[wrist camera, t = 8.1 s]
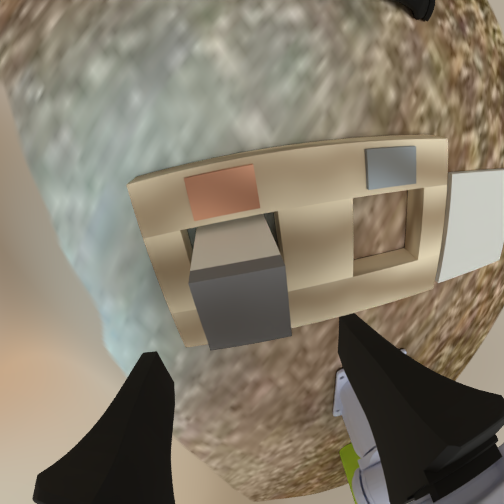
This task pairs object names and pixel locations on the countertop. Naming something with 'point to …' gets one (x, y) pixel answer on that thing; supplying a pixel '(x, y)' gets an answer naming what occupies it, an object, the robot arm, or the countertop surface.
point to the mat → (472, 222)
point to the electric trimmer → (420, 8)
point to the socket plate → (302, 220)
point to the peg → (239, 283)
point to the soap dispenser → (349, 463)
